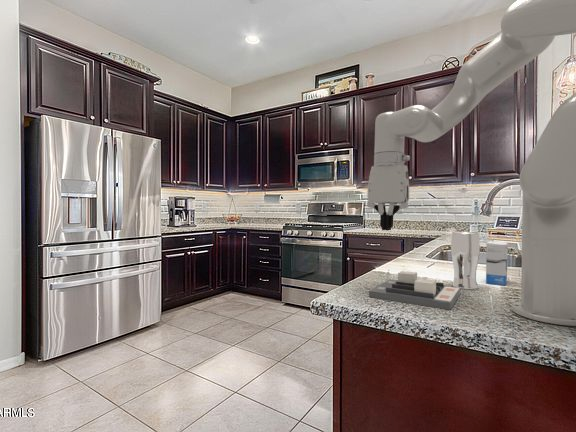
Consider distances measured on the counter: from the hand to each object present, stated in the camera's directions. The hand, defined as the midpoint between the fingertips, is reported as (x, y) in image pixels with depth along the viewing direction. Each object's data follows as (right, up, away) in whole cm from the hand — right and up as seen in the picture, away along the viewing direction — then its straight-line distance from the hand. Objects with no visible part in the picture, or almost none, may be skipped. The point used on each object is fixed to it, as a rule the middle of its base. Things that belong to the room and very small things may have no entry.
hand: (386, 229), depth 85 cm
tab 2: (+6, -15, -11) cm, 19 cm away
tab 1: (+5, -14, -1) cm, 15 cm away
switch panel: (+6, -16, -6) cm, 18 cm away
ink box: (+35, -16, +9) cm, 40 cm away
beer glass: (+23, -16, +3) cm, 28 cm away
